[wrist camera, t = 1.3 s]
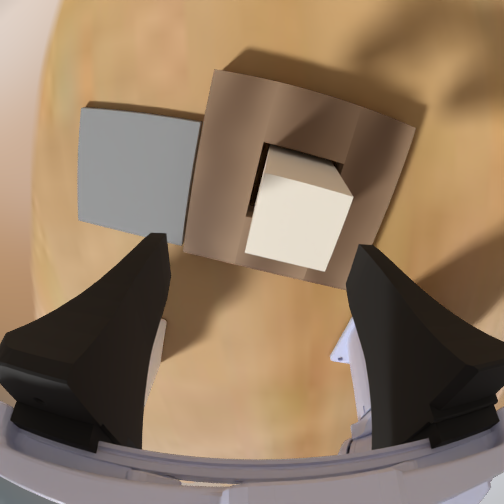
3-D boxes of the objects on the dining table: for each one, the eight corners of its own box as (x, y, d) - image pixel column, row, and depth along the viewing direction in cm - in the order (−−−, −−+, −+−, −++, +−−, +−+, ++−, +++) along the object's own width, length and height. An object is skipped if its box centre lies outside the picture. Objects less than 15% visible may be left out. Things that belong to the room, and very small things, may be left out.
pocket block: (404, 123, 17) (416, 128, 15) (346, 275, 23) (350, 291, 22) (221, 71, 17) (214, 69, 15) (190, 238, 23) (182, 251, 21)
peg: (330, 160, 19) (353, 196, 13) (313, 215, 21) (324, 271, 15) (270, 143, 19) (264, 172, 13) (255, 200, 21) (244, 252, 15)
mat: (202, 121, 19) (200, 122, 18) (183, 242, 23) (181, 245, 23) (84, 107, 18) (81, 107, 18) (81, 217, 23) (78, 220, 22)
